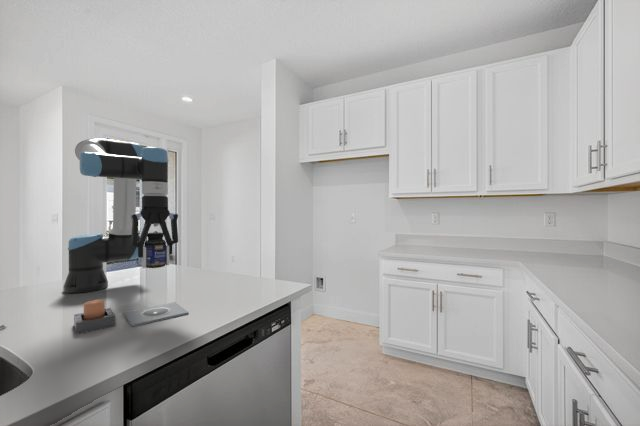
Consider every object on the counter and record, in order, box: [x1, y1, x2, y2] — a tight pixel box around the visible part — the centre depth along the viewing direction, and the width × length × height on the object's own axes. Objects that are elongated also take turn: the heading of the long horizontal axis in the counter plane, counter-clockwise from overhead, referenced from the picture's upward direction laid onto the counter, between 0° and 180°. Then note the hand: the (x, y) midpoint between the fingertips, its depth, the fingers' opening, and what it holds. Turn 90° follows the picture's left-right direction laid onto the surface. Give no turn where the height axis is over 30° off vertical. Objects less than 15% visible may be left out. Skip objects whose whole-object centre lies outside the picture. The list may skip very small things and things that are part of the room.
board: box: [122, 301, 189, 327], centre depth 98 cm, size 14×16×1 cm
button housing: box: [73, 307, 116, 335], centre depth 89 cm, size 9×9×3 cm
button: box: [83, 299, 106, 320], centre depth 89 cm, size 5×5×5 cm
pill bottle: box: [144, 232, 167, 269], centre depth 98 cm, size 6×6×11 cm
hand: (155, 265), depth 98 cm, fingers closed on pill bottle, 6 cm apart
